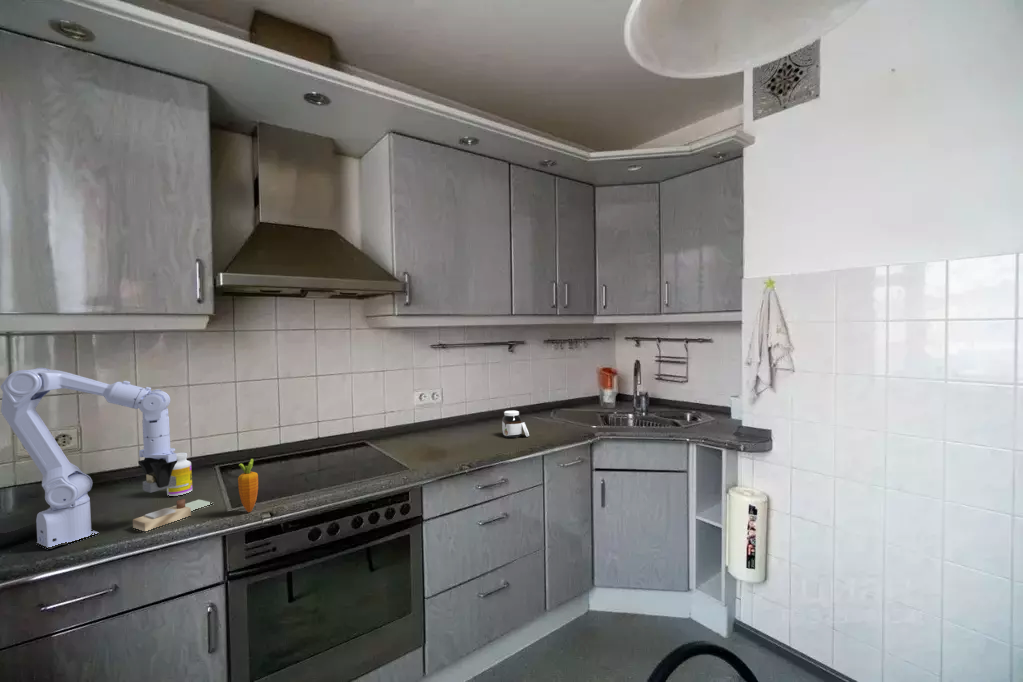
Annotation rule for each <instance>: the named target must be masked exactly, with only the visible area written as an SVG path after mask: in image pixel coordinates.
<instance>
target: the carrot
mask: <svg viewBox="0 0 1023 682" xmlns="http://www.w3.org/2000/svg"><path fill="white" fill-rule="evenodd" d="M253 465H254V458H250V461H249V462H248V464H247V465H244V464H243V463H239V464H238V467H240V469H241V470H242V471H243V472H242V473H241V474H240V475H239V476H238V477H237V484H238V493H239V497H240V501H241V504H242V506H243V508H244V509H245V511H246V512H247V513H249V512H250V513H251V512H252V511H253V509H254V507H255V505H256V502H257V497H258V492H259V475H258V473H257V472H255V471H251V470H252V468H253Z"/></svg>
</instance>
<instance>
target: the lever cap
mask: <svg viewBox="0 0 1023 682" xmlns="http://www.w3.org/2000/svg"><path fill="white" fill-rule="evenodd" d="M145 477H146V478H145V479H146V480H144V481H142V491H144V492H147V493H151V494H152V493H154V492H158V491H162V490H165V489H167V488H169V487H172V486H176V477H175V476H171V477H170V481H169V485H168V486H165V487H162V488H159V487H158V484H157V480H156V475H155V473H150V474H146V475H145Z"/></svg>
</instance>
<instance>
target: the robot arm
mask: <svg viewBox="0 0 1023 682" xmlns="http://www.w3.org/2000/svg"><path fill="white" fill-rule="evenodd" d="M0 389H1V391H2V397H1V398H2V399H1V406H0V412H1V414H2V416H3V418H4V420H5V421H6V422H7V424H8V425H9V426H10V429H11V430H12V431H13V433H14V435H16V437H17V439H18V441H20V443H21V445H22V447H23V448H24V449H25V451H26V452H27V453H28V455H29V457H30V458H31V460H32V462H33V463H34V465H35V466H36V467H37V469H38V470H39V472H40V473H41V475H42V480H41V487H42V488H43V490H44V499H45V502H46V503H47V504H48V505H49V506H50V507H48V508H47V509H45V510H42V511H40V512H38V513H37V515H36V519H35V520H36V521H35V523H36V539H37V542H36V543H39V544H41V545H43V546H46V547H47V548H48V547H52V546H55V545H58V544H61V543H65V542H67V543H68V542H72V541H75V540H79V539H81V538H84V537H88V536H90V535H91V534H92V533H93V534H92V535H94V533H95V534H97V533H99V532H98V531H96V530H93V529H92V517H91V514H92V513H91V499H90V496H89V494H88V492H90V491H91V490H92V488H93V483H94V482H93V479H92V478H91V476H90V475H89V474H86V473H85V472H83V471H82V470H81V469H80V468H79V466H78V465H75V464H74V463H72V462H70V461H69V459H68V457H67V456H66V455H65V453H64V452H63V450H62V448H61V447H60V445H59V444H58V442H57V440H56V439H55V437H54V435H53V434H52V433H51V431H50V429H49V428H48V427H47V425H46V423H45V422H44V421H43V419H42V418H41V416H40V415H39V412H37V410H36V409H37V406H38V405H39V404H40V403H41V400H42V399H43V398H44V396H46V395H47V394H48V393H49V392H50V391H53V390H60V389H61V390H62V389H67V390H72V391H76V392H82V393H87V394H92V395H96V396H102V397H103V398H104V399H105V400H106V402H107V403H110V404H113V405H118V406H122V407H127V408H131V409H135V410H138V409H139V411H140V412H142V423H141V424H142V443H143V449H139V451H138V453H139V454H138V455H139V456H138V457H139V458H144V459H142V460H138V461H137V463H138V465H139V466H140V467H141V469H142V470H143V472H144V474H145V476H146V474H150V473H155V475H156V480H157V484H158V487H159V488H162V487H165V486H168V485H169V481H170V477H171V473H172V471H173V468H174V466H175V464H176V463H177V456H176V453H177V452H176V448H174V447H171V430H170V417H169V413H170V412H169V408H168V407H169V406H170V404H171V397H170V395H169V394H168V393H167V392H166V391H163V390H162V389H154V390H152V387H149V386H146V387H142V386H139V385H135V384H131V381H128V380H123V381H115V382H114V383H111V384H110V383H106V382H104V381H103V382H102V381H100V380H95V379H92V378H90V377H89V378H88V377H85V376H82V375H78V374H74V373H71V372H69V371H68V372H67V371H63V370H59V369H58V370H57V369H49V368H48V367H47V368H46V367H36V368H31V369H20V370H16V371H13V372H11V373H10V374H9V375H8V376H7V377H6V378H5V380H4V381H3V382H2V384H1V385H0ZM91 530H93V531H91ZM99 534H100V533H99ZM53 539H55V541H53Z"/></svg>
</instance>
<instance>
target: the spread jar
mask: <svg viewBox="0 0 1023 682" xmlns="http://www.w3.org/2000/svg"><path fill="white" fill-rule="evenodd" d="M503 414H504V416H503V417H502V421H501V422H502V423H501V425H502V426H501V427H502V434H503V437H504V438H506V439H517V438H516V437H518V438H520V437H521V435H522V433H523V432H524V434H525V437H526V438H527V437H530V433H529V430H528V428H527V424H526V422H525V421H524V422H523V421H522V418H521V416H520V411H518V410H505V411H503Z"/></svg>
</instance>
